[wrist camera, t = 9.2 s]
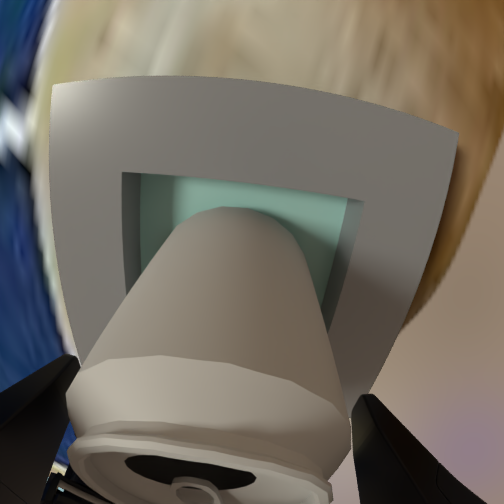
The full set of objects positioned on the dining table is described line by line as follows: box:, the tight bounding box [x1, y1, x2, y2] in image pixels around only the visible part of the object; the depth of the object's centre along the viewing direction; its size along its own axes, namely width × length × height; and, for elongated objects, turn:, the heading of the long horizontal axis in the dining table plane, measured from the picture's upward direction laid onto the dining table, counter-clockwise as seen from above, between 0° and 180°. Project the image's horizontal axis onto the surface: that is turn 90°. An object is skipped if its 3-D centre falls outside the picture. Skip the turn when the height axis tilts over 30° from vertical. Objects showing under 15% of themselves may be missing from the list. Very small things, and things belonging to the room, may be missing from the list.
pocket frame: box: [49, 76, 459, 418], centre depth 15 cm, size 18×18×2 cm
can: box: [66, 206, 351, 504], centre depth 10 cm, size 8×8×12 cm
